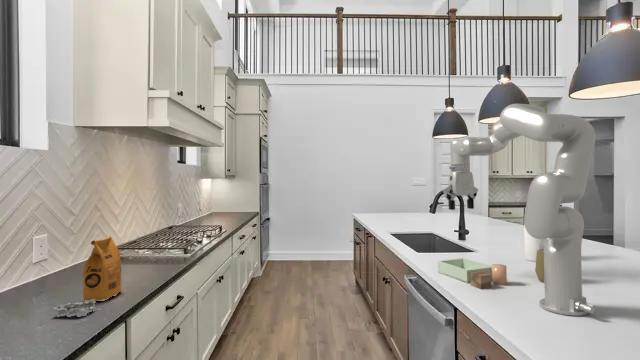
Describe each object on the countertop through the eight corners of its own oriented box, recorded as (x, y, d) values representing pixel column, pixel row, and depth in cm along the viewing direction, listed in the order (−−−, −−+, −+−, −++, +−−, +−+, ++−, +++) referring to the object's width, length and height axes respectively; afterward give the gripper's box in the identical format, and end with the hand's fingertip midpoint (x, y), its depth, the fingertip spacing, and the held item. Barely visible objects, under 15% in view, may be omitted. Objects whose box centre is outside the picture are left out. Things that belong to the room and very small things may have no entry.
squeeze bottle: (552, 278, 138) (551, 233, 138) (564, 284, 130) (563, 237, 130) (531, 278, 138) (530, 233, 138) (542, 284, 130) (540, 237, 130)
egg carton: (99, 310, 114) (99, 298, 114) (81, 320, 107) (81, 306, 107) (70, 310, 116) (70, 297, 116) (50, 318, 108) (50, 306, 108)
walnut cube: (491, 287, 128) (491, 274, 128) (480, 289, 126) (480, 275, 126) (481, 284, 133) (480, 271, 133) (470, 285, 131) (470, 272, 131)
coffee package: (77, 303, 121) (76, 241, 121) (100, 292, 134) (99, 235, 134) (105, 303, 121) (104, 240, 121) (126, 291, 134) (124, 235, 134)
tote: (494, 279, 138) (494, 266, 138) (467, 283, 134) (466, 270, 134) (463, 269, 155) (462, 258, 155) (438, 272, 151) (437, 261, 151)
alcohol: (523, 257, 174) (521, 198, 174) (543, 259, 171) (542, 198, 171) (526, 261, 166) (524, 199, 166) (547, 263, 162) (546, 199, 163)
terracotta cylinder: (509, 284, 131) (509, 266, 131) (499, 286, 129) (499, 267, 129) (499, 281, 136) (498, 263, 136) (489, 282, 134) (488, 264, 134)
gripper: (449, 168, 139) (450, 210, 139) (483, 168, 145) (484, 208, 145) (437, 169, 146) (438, 209, 146) (470, 169, 152) (471, 207, 152)
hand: (461, 209), depth 146 cm, fingers open, 9 cm apart
